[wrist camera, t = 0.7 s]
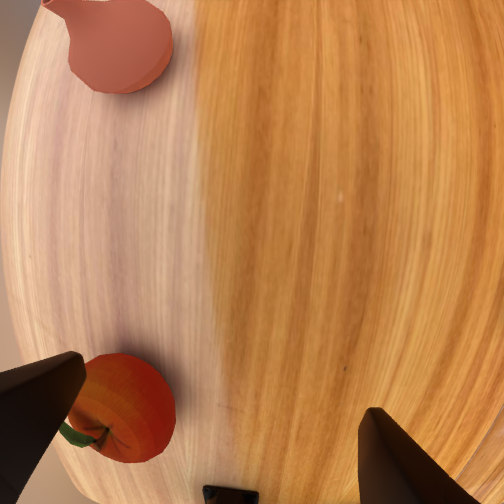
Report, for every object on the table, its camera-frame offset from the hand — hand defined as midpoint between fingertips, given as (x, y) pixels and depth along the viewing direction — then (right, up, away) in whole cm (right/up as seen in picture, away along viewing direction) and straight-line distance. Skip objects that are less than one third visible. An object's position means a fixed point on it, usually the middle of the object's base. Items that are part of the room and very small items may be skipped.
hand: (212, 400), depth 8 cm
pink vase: (-8, +20, +12) cm, 24 cm away
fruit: (-9, -8, +17) cm, 21 cm away
